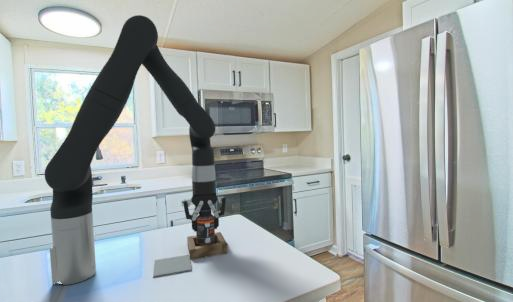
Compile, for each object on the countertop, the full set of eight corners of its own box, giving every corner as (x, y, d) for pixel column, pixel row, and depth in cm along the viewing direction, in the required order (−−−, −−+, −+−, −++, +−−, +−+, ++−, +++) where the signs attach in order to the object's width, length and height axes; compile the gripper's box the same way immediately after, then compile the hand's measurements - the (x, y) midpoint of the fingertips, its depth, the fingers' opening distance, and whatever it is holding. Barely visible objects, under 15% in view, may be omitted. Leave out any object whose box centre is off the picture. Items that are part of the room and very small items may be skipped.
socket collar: (190, 259, 82) (189, 249, 82) (187, 245, 93) (187, 236, 93) (227, 253, 85) (227, 244, 85) (220, 240, 96) (220, 232, 96)
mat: (153, 277, 72) (153, 276, 72) (154, 261, 81) (154, 260, 81) (191, 270, 75) (191, 269, 75) (188, 255, 84) (188, 254, 84)
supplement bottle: (213, 246, 86) (212, 211, 85) (194, 247, 86) (193, 212, 85) (216, 239, 92) (215, 206, 91) (199, 239, 92) (197, 207, 91)
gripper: (181, 182, 82) (183, 236, 83) (228, 178, 87) (229, 230, 87) (180, 178, 89) (182, 228, 90) (223, 175, 94) (224, 223, 95)
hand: (205, 229), depth 89 cm, fingers closed on supplement bottle, 6 cm apart
